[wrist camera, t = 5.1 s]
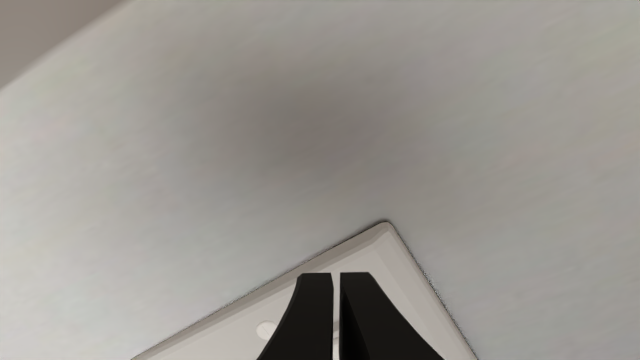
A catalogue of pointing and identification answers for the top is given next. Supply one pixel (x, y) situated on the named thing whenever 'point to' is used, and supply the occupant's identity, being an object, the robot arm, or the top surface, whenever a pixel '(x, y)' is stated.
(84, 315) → the top surface
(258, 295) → the light switch
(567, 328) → the top surface
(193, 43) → the top surface
